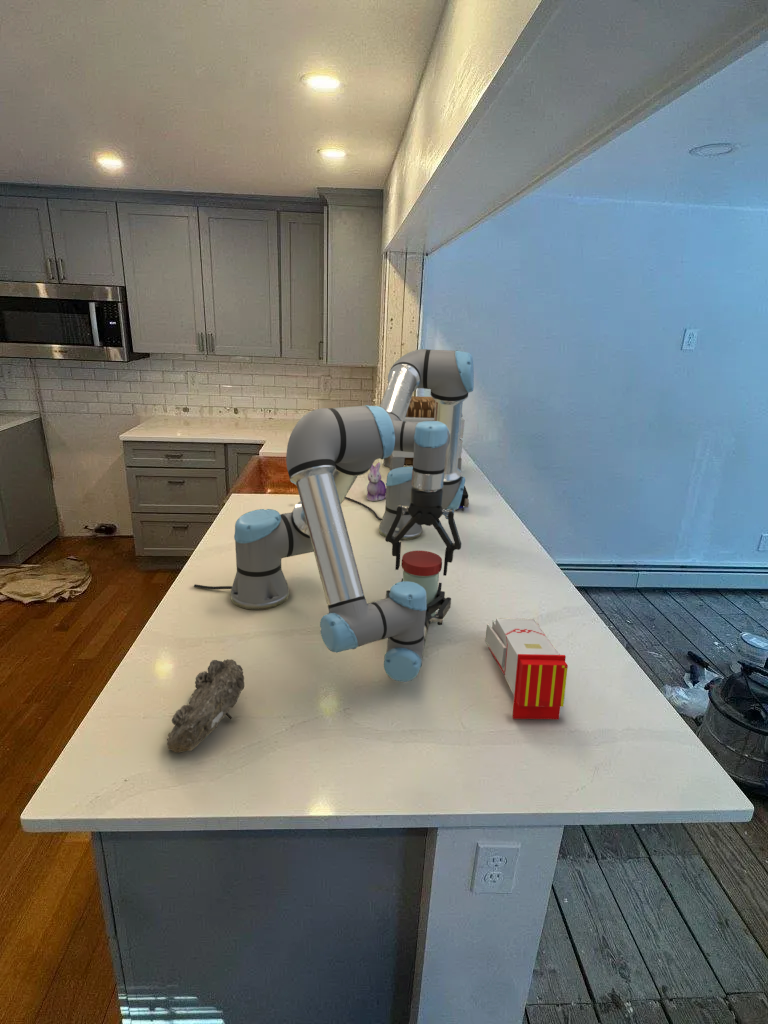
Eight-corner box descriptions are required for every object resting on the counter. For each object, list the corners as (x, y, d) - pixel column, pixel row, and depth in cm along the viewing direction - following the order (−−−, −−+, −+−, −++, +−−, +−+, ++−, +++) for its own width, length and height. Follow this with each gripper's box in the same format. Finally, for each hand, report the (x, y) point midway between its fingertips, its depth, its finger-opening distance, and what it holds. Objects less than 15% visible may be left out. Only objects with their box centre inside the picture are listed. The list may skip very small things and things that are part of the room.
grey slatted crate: (382, 463, 289) (386, 382, 275) (445, 464, 293) (451, 384, 279) (390, 482, 257) (394, 392, 243) (460, 483, 261) (468, 394, 247)
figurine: (371, 503, 230) (372, 467, 224) (360, 495, 238) (361, 460, 233) (391, 500, 234) (393, 465, 229) (380, 493, 242) (381, 459, 237)
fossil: (192, 660, 117) (244, 628, 112) (224, 691, 120) (276, 661, 115) (142, 746, 98) (202, 712, 93) (182, 779, 101) (242, 748, 96)
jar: (441, 621, 145) (446, 566, 140) (410, 628, 141) (414, 572, 136) (424, 605, 153) (428, 552, 147) (394, 611, 149) (397, 557, 144)
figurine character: (468, 516, 224) (463, 500, 237) (471, 498, 221) (465, 483, 234) (452, 515, 224) (447, 499, 237) (453, 498, 220) (449, 482, 234)
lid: (449, 568, 142) (450, 560, 141) (422, 580, 135) (423, 570, 135) (420, 555, 149) (421, 547, 148) (393, 565, 142) (393, 557, 141)
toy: (531, 603, 136) (576, 661, 106) (526, 655, 139) (569, 725, 109) (481, 602, 135) (512, 660, 106) (477, 654, 138) (507, 724, 109)
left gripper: (363, 637, 131) (380, 593, 152) (457, 650, 128) (461, 602, 149) (364, 609, 128) (381, 567, 149) (460, 621, 125) (464, 577, 146)
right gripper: (477, 487, 137) (469, 569, 144) (381, 478, 140) (377, 559, 148) (476, 497, 130) (467, 582, 137) (375, 487, 133) (372, 571, 141)
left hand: (421, 585), depth 149 cm, fingers closed on jar, 9 cm apart
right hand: (421, 570), depth 142 cm, fingers open, 11 cm apart
